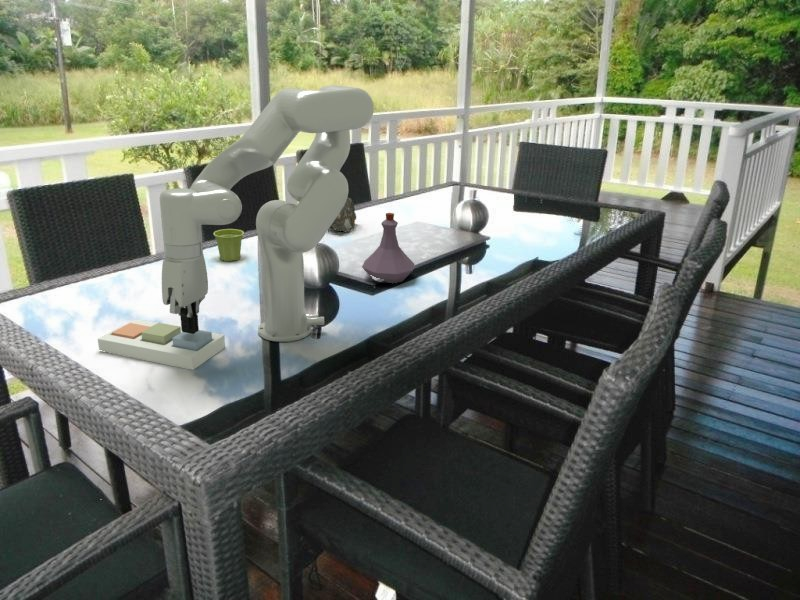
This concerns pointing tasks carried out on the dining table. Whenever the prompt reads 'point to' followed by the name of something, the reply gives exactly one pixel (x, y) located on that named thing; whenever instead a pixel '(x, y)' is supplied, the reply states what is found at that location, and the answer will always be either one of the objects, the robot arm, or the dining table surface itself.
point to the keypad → (160, 349)
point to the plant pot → (229, 243)
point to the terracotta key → (130, 331)
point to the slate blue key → (192, 340)
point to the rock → (345, 217)
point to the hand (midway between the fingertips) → (190, 331)
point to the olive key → (160, 333)
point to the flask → (389, 256)
